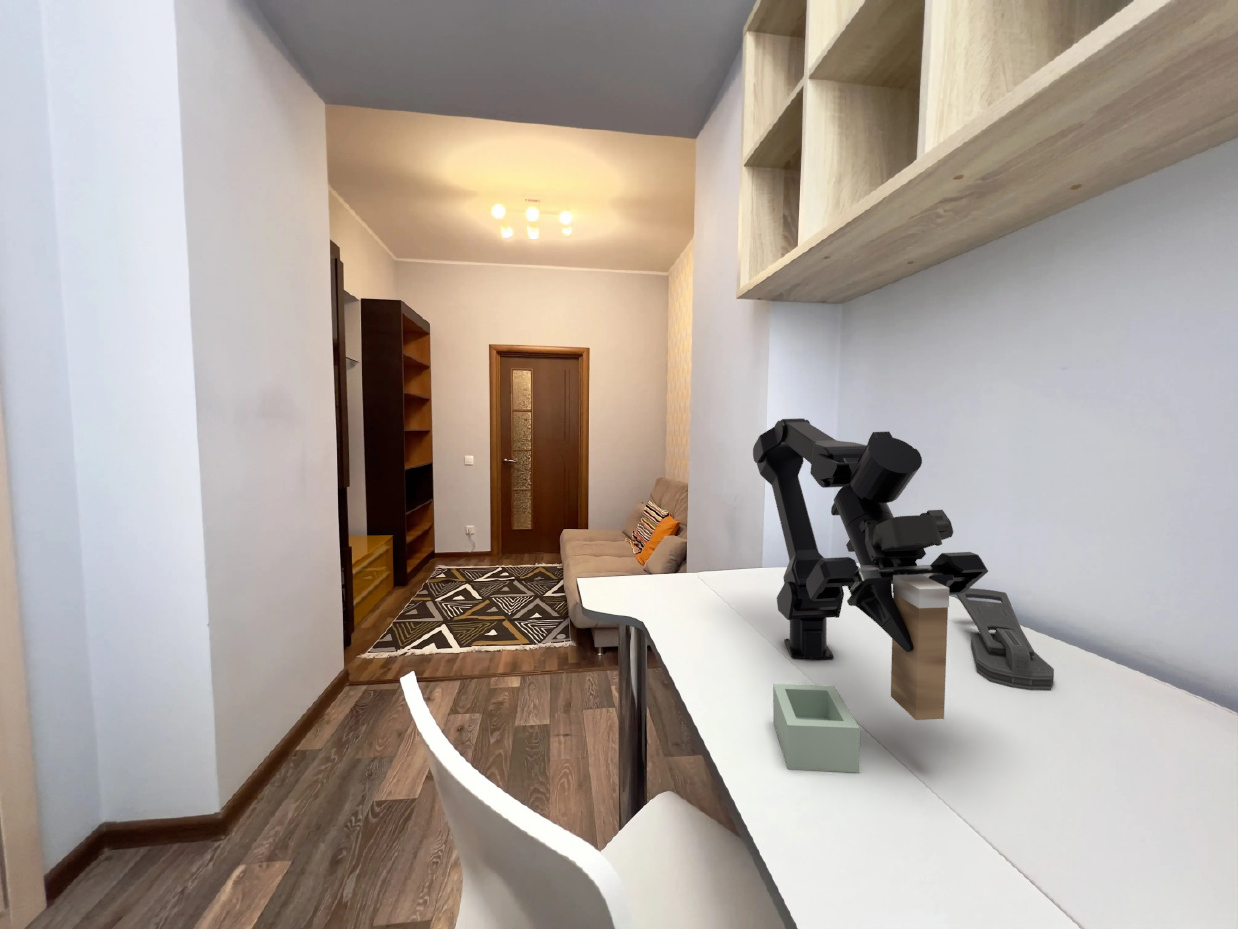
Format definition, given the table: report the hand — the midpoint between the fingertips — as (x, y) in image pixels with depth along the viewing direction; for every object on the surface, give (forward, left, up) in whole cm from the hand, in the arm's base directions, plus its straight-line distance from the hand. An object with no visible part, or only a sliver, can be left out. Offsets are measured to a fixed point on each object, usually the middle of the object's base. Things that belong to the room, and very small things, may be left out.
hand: (925, 649), depth 53 cm
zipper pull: (-31, +25, -14) cm, 42 cm away
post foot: (-4, -11, -13) cm, 17 cm away
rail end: (-1, 0, -7) cm, 7 cm away
